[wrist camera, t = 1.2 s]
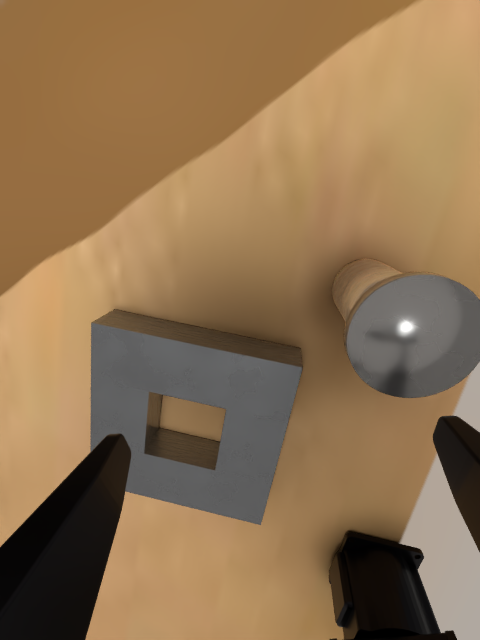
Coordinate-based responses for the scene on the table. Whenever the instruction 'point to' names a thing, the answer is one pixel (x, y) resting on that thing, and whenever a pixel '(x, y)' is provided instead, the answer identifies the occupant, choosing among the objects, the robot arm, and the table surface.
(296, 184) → the table surface
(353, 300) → the silver flanged peg
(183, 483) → the socket block
